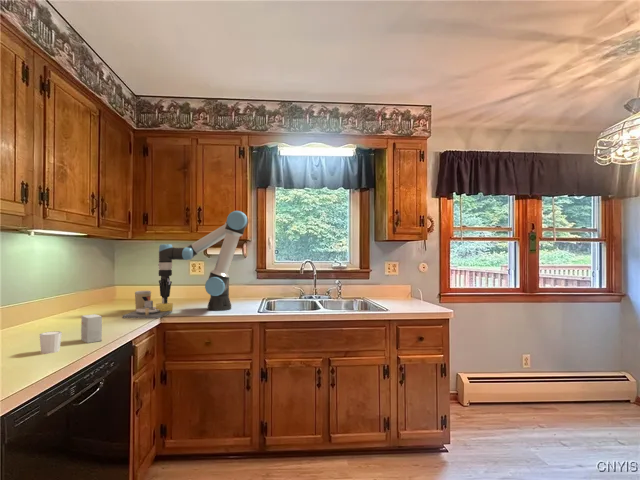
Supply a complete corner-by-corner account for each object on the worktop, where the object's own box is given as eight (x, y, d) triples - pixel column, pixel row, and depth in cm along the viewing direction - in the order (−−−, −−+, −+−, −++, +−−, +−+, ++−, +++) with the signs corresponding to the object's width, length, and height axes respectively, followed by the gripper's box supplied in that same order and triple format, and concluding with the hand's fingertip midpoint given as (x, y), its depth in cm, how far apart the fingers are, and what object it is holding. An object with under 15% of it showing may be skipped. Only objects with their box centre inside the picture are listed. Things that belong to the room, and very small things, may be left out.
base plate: (172, 312, 229) (172, 303, 229) (157, 318, 209) (158, 308, 209) (140, 311, 229) (140, 303, 229) (122, 318, 209) (122, 308, 209)
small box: (101, 341, 158) (102, 316, 158) (86, 343, 154) (87, 317, 154) (95, 338, 163) (95, 313, 163) (80, 340, 159) (81, 315, 159)
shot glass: (38, 355, 137) (39, 336, 137) (39, 350, 142) (39, 332, 142) (61, 352, 141) (62, 333, 141) (61, 348, 146) (61, 330, 146)
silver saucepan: (135, 314, 210) (136, 303, 211) (136, 310, 222) (136, 300, 222) (172, 312, 218) (173, 301, 219) (171, 309, 230) (171, 298, 230)
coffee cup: (144, 312, 229) (144, 292, 229) (131, 311, 231) (131, 291, 231) (154, 309, 238) (154, 290, 238) (141, 309, 240) (141, 290, 240)
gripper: (154, 269, 229) (154, 307, 229) (163, 270, 220) (163, 310, 220) (166, 268, 235) (166, 306, 234) (176, 269, 226) (175, 308, 225)
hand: (164, 308), depth 227 cm, fingers closed
